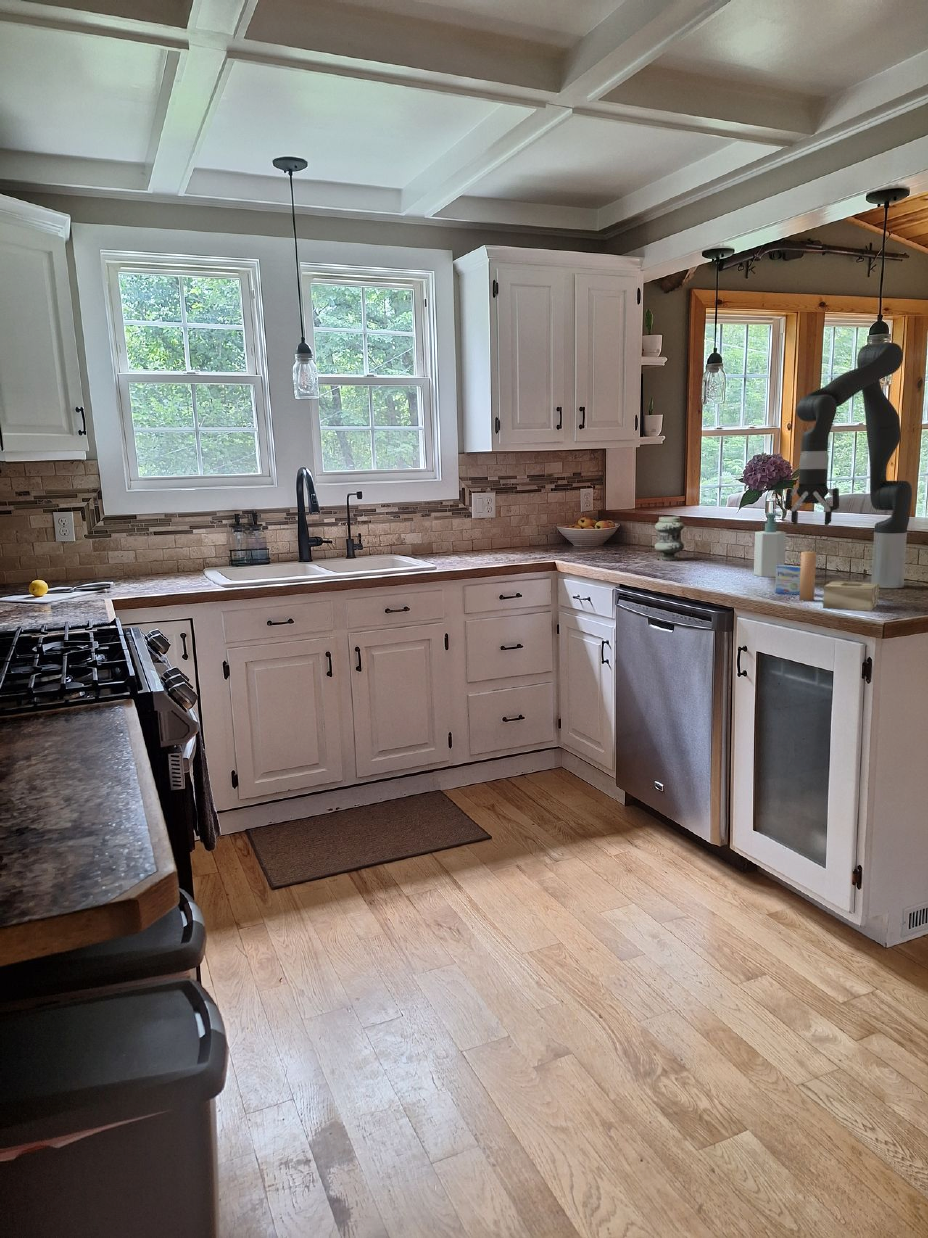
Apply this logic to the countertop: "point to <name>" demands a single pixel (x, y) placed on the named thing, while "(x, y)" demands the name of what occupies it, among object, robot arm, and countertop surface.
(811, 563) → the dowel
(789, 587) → the medicine box
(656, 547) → the apothecary jar
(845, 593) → the socket block
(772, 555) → the soap bottle
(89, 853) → the countertop surface
